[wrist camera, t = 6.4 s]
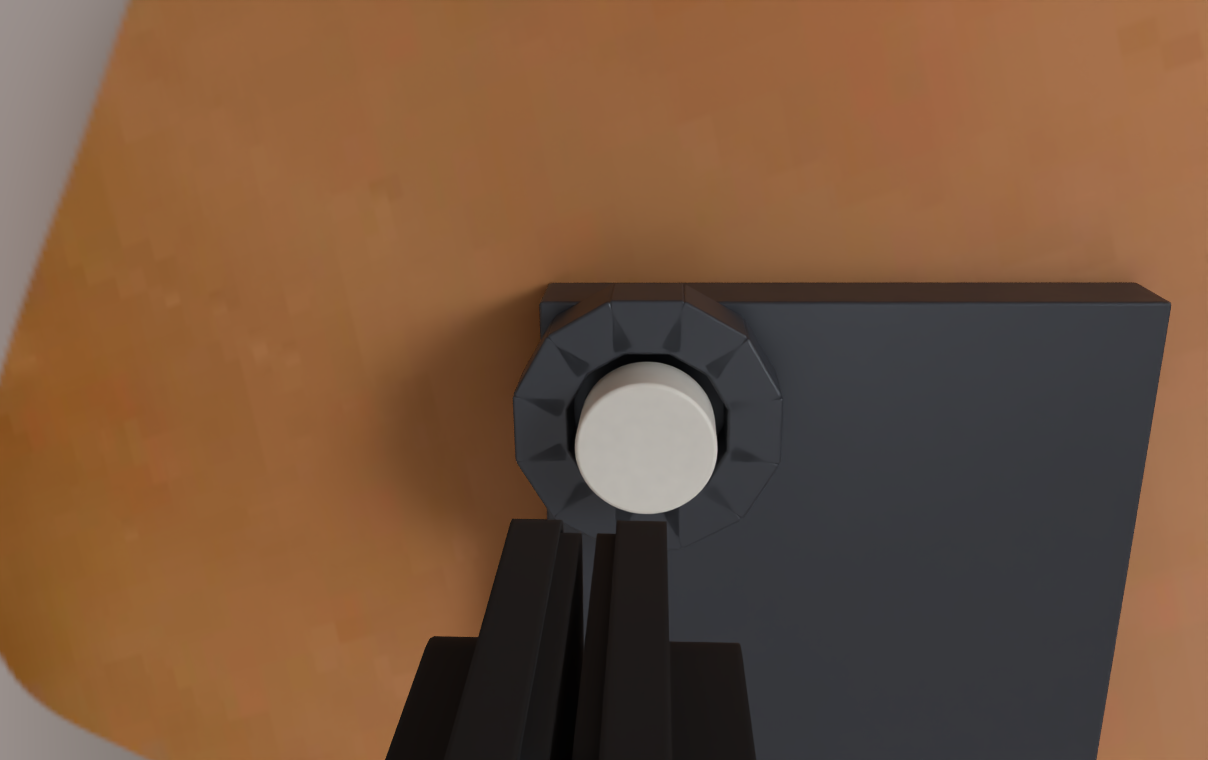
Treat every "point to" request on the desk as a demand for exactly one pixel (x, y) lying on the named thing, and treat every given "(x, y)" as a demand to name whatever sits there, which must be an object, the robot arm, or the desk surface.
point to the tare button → (646, 438)
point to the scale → (883, 497)
